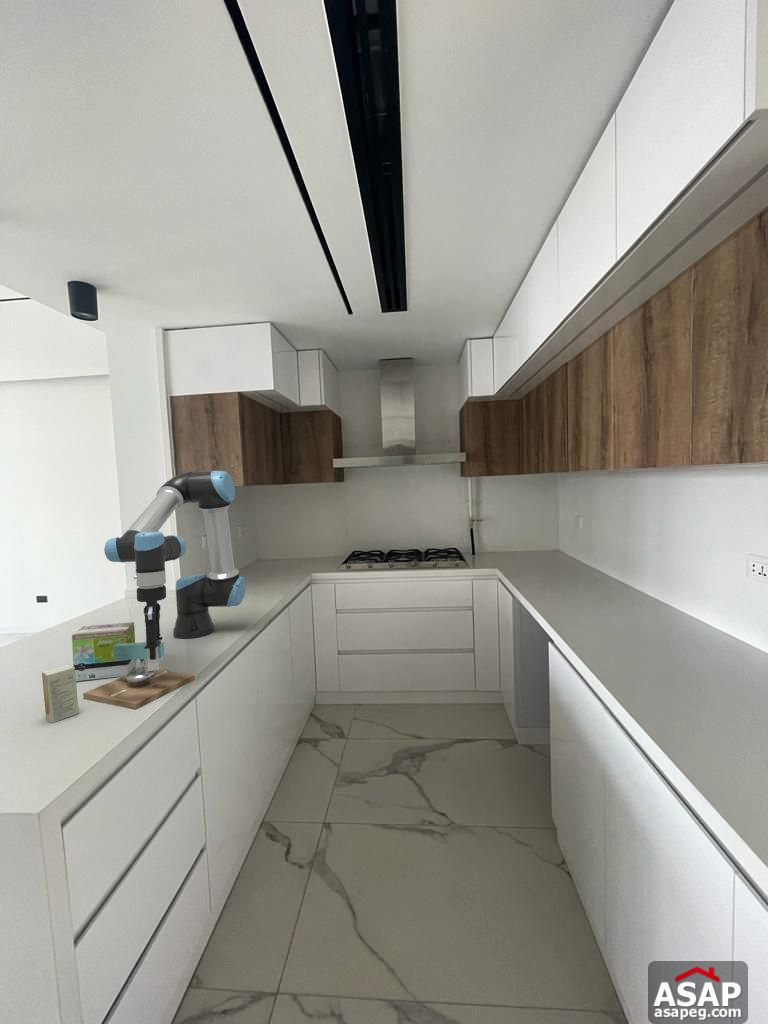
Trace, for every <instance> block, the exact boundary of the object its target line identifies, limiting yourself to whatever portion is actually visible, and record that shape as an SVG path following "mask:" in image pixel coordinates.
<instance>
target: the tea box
mask: <svg viewBox="0 0 768 1024" xmlns="http://www.w3.org/2000/svg"><path fill="white" fill-rule="evenodd" d="M135 629H136V627H135V622H134V621H131V622H121V623H120V622H119V623H107V624H106V623H105V624H95V625H94V624H93V625H83V626H82V627H80V629H78V630H77V631H75V633H73V634H72V635H71V640H72V641H71V642H72V643H71V646H72V661H73V662H72V664H73V665H72V666H73V667H75V676H76V683H77V682H82V681H91V680H98V679H99V680H100V679H109V678H121V677H123V676H126V675H127V674H129V673H130V672H133V671H134V670H133V669H134V668H135V659H132V660H114V648H113V646H115V645H116V644H118V643H136V633H135V631H136V630H135Z"/></svg>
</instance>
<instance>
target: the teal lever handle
mask: <svg viewBox="0 0 768 1024" xmlns="http://www.w3.org/2000/svg"><path fill="white" fill-rule="evenodd" d="M157 644H158V654H159V658H161V659H162V658H163V657H164V656H165V642H164V641H163V639H162V640H158V641H157ZM144 647H146V641H145V642H135V643H118V644H116V645H115V646H113V648H114V660H132V659H135V667H134V668H135V670H132V671H131V672H130V673H129V674H127V676H126V677H127V681H128V682H141V681H145V680H148V679H151V678H152V677H153V676H154V671H148V669H145V667H146V663H145V660H148V654H147V649H144Z"/></svg>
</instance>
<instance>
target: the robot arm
mask: <svg viewBox="0 0 768 1024" xmlns="http://www.w3.org/2000/svg"><path fill="white" fill-rule="evenodd" d="M235 493H236V488H235V483H234V481H233V478H232V477H231V475H230V474H229V472H226V471H223V470H206V471H205V470H203V471H201V470H200V471H185V472H182V473H179V474H177V475H175V476H174V477H172V478H171V479H169V480H167V481H166V482H165V483H163V485H162V486H161V487H160V488H159V489H158V490H157V491H156V497H155V498H154V499H153V500H152V502H151V501H150V503H149V504H148V506H147V507H146V508H145V509H144V510H143V511H142V513H140V515H139V516H138V517H137V519H135V521H134V522H133V523H132V524H131V525H130V526H129V527H128V529H127V530H126V531H125V532H124V534H122V536H121V537H119V536H118V537H117V536H116V537H112V538H109V539H108V540H106V542H105V544H104V549H103V550H104V551H103V552H104V555H105V558H106V559H107V560H108V561H110V562H112V563H135V575H134V576H133V579H134V580H136V582H135V583H136V584H135V585H136V587H137V588H136V600H137V602H139V603H146V605H145V606H144V607H143V614H144V624H145V640H146V641H145V642H146V647H144V649H147V654H148V659H147V667H148V671H154V670H159V669H160V665H161V663H162V661H161V659H162V658H159V654H158V644H157V641H158V640H163V637H162V636H161V628H160V626H161V625H160V623H161V622H160V618H161V612H160V611H161V604H160V603H158V602H159V601H162V600H165V599H166V597H167V586H166V585H165V584H166V583H167V582H166V581H167V579H166V578H167V577H166V576H167V575H166V563H165V562H171V561H175V560H177V559H180V558H181V557H183V555H185V553H186V551H187V544H186V542H185V540H184V538H182V537H181V536H178V535H173V534H172V535H167V536H164V533H163V532H162V531H160V529H161V528H162V527H163V525H164V524H165V523H166V522H167V521H168V520H169V518H170V517H171V516H172V514H173V513H174V511H176V510H178V509H179V508H181V507H182V506H183V505H184V504H189V503H197V505H198V509H199V510H200V511H202V512H203V517H204V524H205V526H204V527H205V531H206V532H205V533H206V540H207V548H208V555H209V562H210V563H209V564H210V569H211V571H210V572H209V573H208V574H207V573H204V572H203V573H196V574H191V575H186V576H183V577H180V578H178V579H176V582H175V589H174V590H175V597H176V598H175V599H176V601H175V602H176V619H175V625H174V627H173V632H172V633H173V637H174V638H178V639H193V638H200V636H201V637H204V636H207V634H208V635H209V633H210V634H212V633H214V631H215V624H214V622H213V620H212V617H211V614H210V612H209V611H210V610H209V608H210V607H211V608H212V607H213V608H215V607H216V608H218V607H220V608H223V607H225V608H227V607H228V608H230V607H236V606H239V605H240V604H242V602H243V600H244V598H245V594H246V589H247V582H246V581H247V580H246V578H245V577H244V576H242V575H241V576H240V571H239V570H238V569H237V568H236V567H235V564H234V563H235V562H234V554H233V545H232V537H231V530H230V528H231V527H230V521H229V512H228V509H229V508H230V507H231V504H232V503H231V502H232V501H234V500H235V498H236V494H235ZM211 632H212V633H211ZM160 636H161V637H160Z"/></svg>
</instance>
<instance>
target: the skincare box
mask: <svg viewBox="0 0 768 1024" xmlns="http://www.w3.org/2000/svg"><path fill="white" fill-rule="evenodd" d="M41 677H42V688H43V690H42V691H43V699H44V700H43V701H44V710H45V711H44V712H45V719H46V720H47V721H48V722H49V723H50V724H53V723H55V722H58V721H62V720H64V719H67V718H69V717H73V716H75V715H78V714H79V713H80V712H79V700H78V699H79V698H78V689H77V682H76V676H75V667H73V665H72V664H70V663H68V664H65V665H64V664H63V665H61V666H58V667H57V666H56V667H54V668H51V669H47V670H43V671H41Z"/></svg>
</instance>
